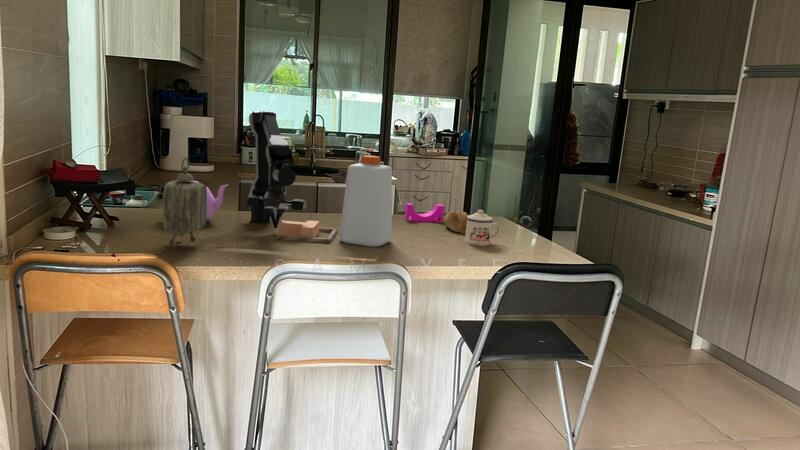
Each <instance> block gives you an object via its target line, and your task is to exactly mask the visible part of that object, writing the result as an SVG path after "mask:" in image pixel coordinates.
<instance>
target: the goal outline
mask: <svg viewBox="0 0 800 450" xmlns="http://www.w3.org/2000/svg"><path fill="white" fill-rule="evenodd" d="M320 232H321V233H322V232H323V233H330V234H329V235H328V236H327V238H323V237H315V238H312V237H300V236H291V235H279V234H276V235H275V240H283V241H293V242H294V241H296V242H309V243H322V244H330V243H332V242H333V241H332V240H333V239H334V238H335V236H337V233H338V228H333V227H320V226H319V233H320Z"/></svg>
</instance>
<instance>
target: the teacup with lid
mask: <svg viewBox="0 0 800 450" xmlns="http://www.w3.org/2000/svg"><path fill="white" fill-rule="evenodd" d="M468 215H469V216H467V226H466V233H465V237H464V243H465V244H468V245H472V246H479V247H480V246H482V247H483V246H485V247H486V246H490V244H491V239H492V238H493V239H494V238H496V237H498V236H499V234H500V231H501V227H500V226H499V224H498V223H495V222H494V219H493V217H492V216H489V215H488V214H486V213H484V210H483V209H478V210H477V212H475V213H473V214H468ZM493 226H494V227H495V226H496V227H497V231H496V232H495V234H492V229H493Z"/></svg>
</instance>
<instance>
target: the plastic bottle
mask: <svg viewBox="0 0 800 450" xmlns="http://www.w3.org/2000/svg"><path fill="white" fill-rule="evenodd" d="M360 160H361V161H360V162H359V163H354V164H353V163H352V164H350V165H348V167H347V173H346V179H345V180H346V181H345V182H346V183H345V189H344V196H343V205H342V213H341V219H340V229H339V240H340V241H341V242H342V243H344V244H350V245H358V246H364V247H370V248H375V247H377V248H378V247H380V246H383V245H385V244H387V243H389V242H391V241H392V239H393V235H392V234H393V225H392V224H393V223H392V220H393V204H392V203H393V201H392V200H393V170H392V167H391V166H390V165H384V164H381V156H377V155H362V156H361V159H360Z"/></svg>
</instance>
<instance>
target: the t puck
mask: <svg viewBox="0 0 800 450" xmlns="http://www.w3.org/2000/svg"><path fill="white" fill-rule="evenodd" d="M320 222H321V221H319V220H310V219H308V220H306V221H305V222H304V221H303V222H302V221H292V220H280V222H279V225H278V235H287V236H300V237H312V238H317V235H319V233H320V231H319V227H320Z"/></svg>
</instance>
